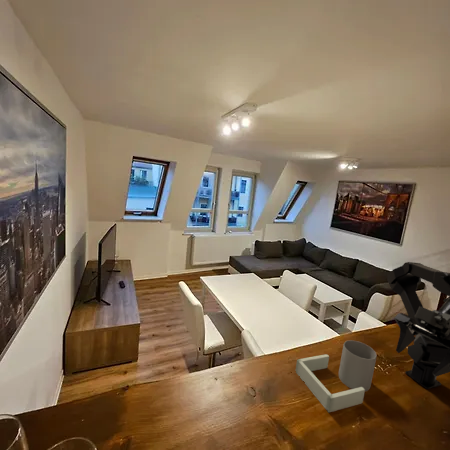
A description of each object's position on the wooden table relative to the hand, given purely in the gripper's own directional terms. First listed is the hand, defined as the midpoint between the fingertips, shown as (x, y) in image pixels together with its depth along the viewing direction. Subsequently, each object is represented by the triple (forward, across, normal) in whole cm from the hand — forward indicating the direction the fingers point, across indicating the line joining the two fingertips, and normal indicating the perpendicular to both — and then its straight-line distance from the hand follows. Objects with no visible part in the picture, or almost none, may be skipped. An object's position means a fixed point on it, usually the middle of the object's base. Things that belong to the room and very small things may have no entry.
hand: (414, 362), depth 63 cm
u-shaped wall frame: (+20, -11, -3) cm, 23 cm away
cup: (+13, -11, +4) cm, 18 cm away
